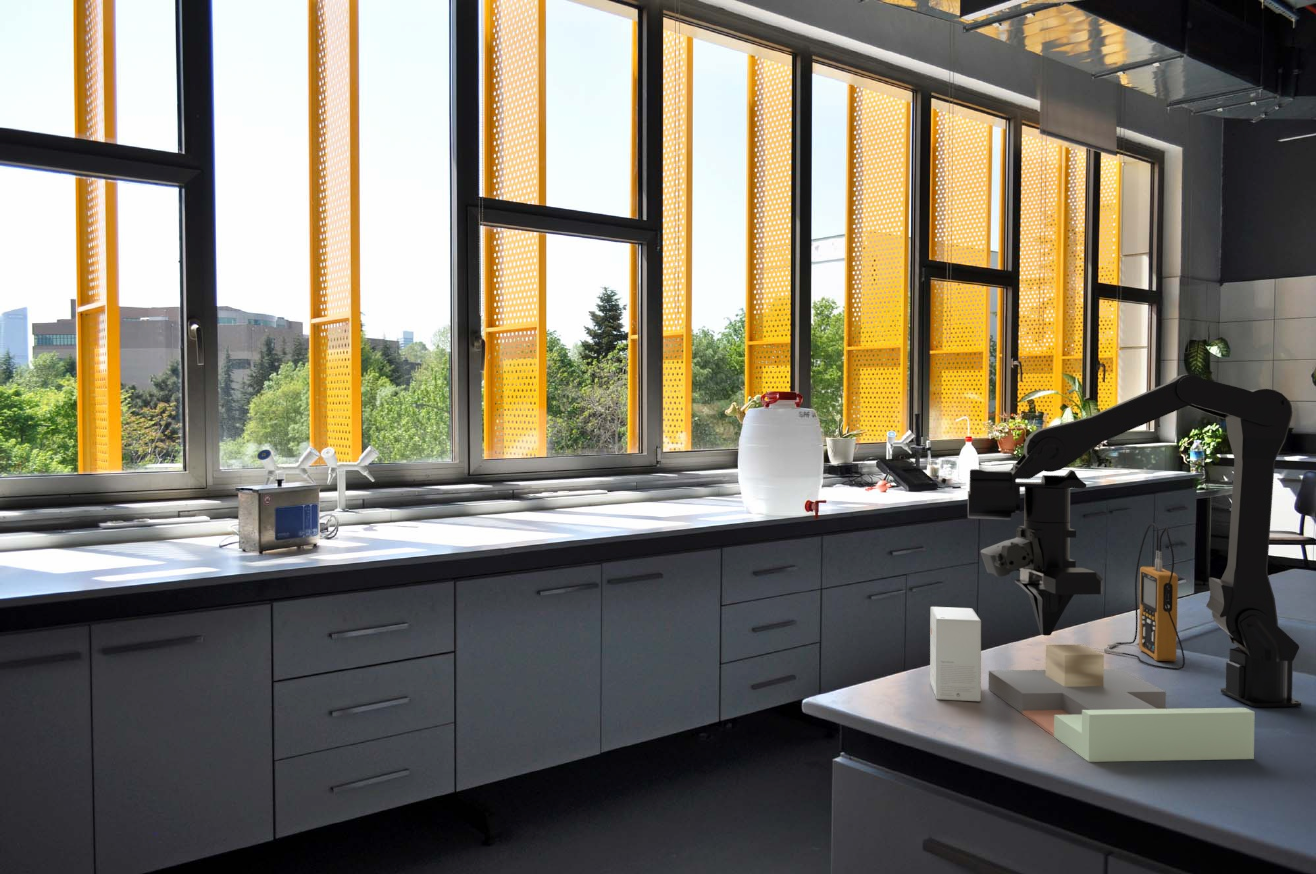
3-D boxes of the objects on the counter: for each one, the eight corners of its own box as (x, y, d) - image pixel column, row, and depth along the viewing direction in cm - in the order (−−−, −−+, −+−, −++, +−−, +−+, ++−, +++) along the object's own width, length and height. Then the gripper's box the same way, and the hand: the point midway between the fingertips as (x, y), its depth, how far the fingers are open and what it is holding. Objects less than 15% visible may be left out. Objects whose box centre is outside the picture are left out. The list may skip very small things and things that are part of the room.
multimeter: (1082, 642, 148) (1083, 518, 147) (1148, 644, 146) (1150, 519, 146) (1114, 667, 133) (1116, 529, 132) (1188, 670, 132) (1190, 531, 131)
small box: (981, 703, 116) (982, 620, 116) (935, 700, 117) (935, 618, 117) (972, 685, 124) (973, 607, 124) (929, 682, 125) (930, 605, 125)
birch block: (1082, 674, 120) (1083, 644, 120) (1103, 686, 115) (1103, 654, 115) (1045, 675, 120) (1045, 644, 120) (1064, 686, 115) (1064, 654, 115)
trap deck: (1120, 687, 123) (1120, 650, 123) (1253, 758, 98) (1254, 712, 97) (988, 689, 122) (988, 651, 122) (1088, 761, 97) (1089, 714, 96)
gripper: (962, 513, 134) (961, 620, 134) (1019, 529, 115) (1018, 653, 116) (1037, 513, 134) (1035, 619, 135) (1105, 529, 116) (1104, 652, 116)
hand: (1045, 634), depth 125 cm, fingers closed
